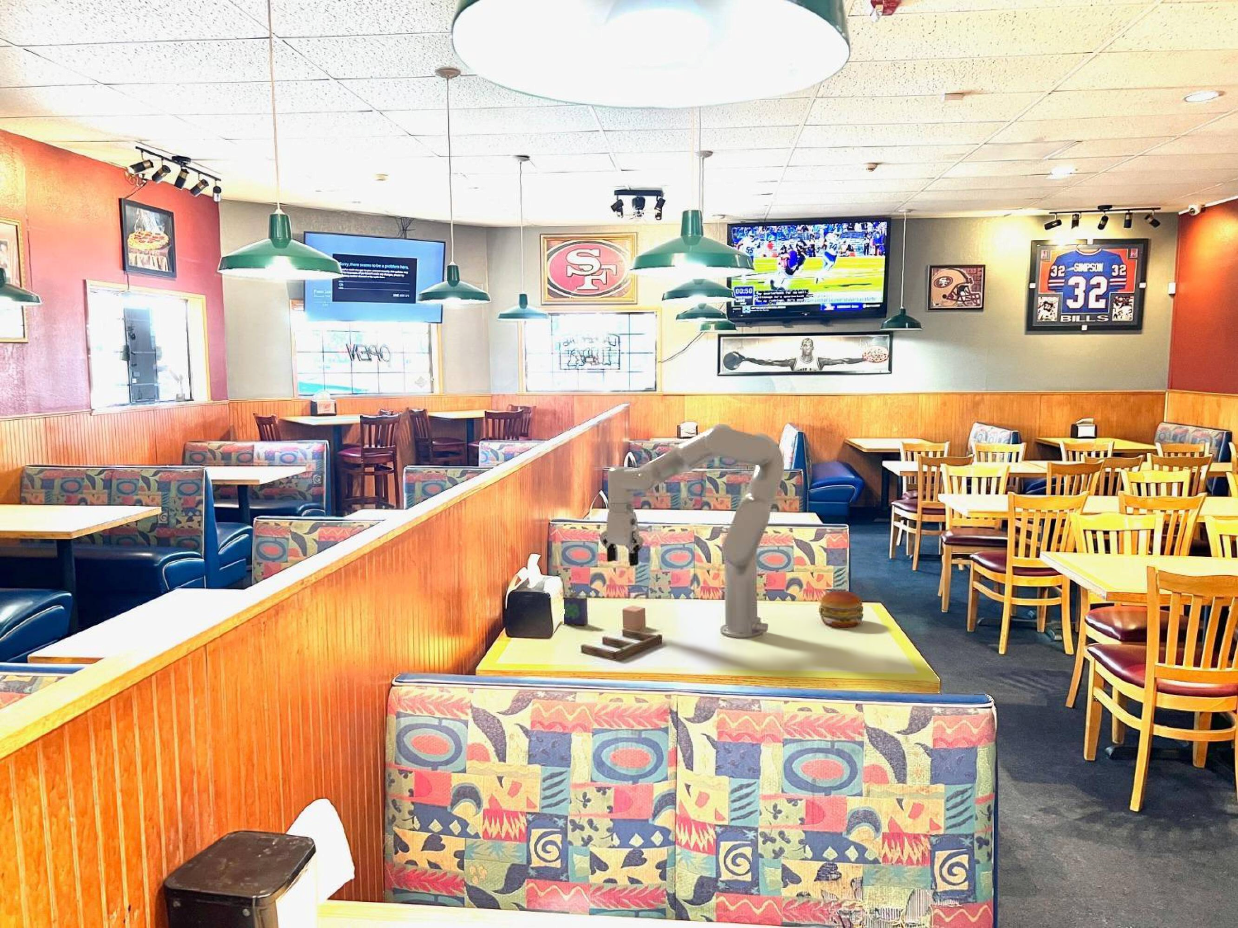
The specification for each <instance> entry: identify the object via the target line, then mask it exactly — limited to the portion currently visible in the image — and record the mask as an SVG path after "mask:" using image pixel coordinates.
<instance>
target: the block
mask: <svg viewBox="0 0 1238 928" xmlns="http://www.w3.org/2000/svg"><path fill="white" fill-rule="evenodd" d="M621 611H622V629H628V630H633V631H639V630H640V629H641V630H642V629H644V628H646V625H647V623H646V622H647V621H646V607H643V606H637V605H630V606H627V607H625V608H622V610H621Z"/></svg>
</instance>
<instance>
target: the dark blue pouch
mask: <svg viewBox="0 0 1238 928" xmlns="http://www.w3.org/2000/svg"><path fill="white" fill-rule="evenodd" d="M576 593H577V591H576V590H571V591H570V594H568V593H565V594H563V595H564V598H563V599H564V609H565V614H564V624H567V626H580V627H581V626H582V627H583V626H584V627H585V626H588V624H589V620H588V614H589V613H588V597H587V596H579V595H578V596H577V595H576ZM564 624H563V625H564Z"/></svg>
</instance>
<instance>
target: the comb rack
mask: <svg viewBox="0 0 1238 928" xmlns="http://www.w3.org/2000/svg"><path fill="white" fill-rule="evenodd" d="M621 631H622V637H624V638H628V639H634V640H638V641H639V642H632V641H628V640H623V639H619V638H613V637H609V636H602V637H601V639H602V643H601V644H602V645H605V646H610V647H613V648H619V650H617V651H614V650H610V649H606V648H603V647H596V646H593V645H588V644H581V645H580V652H581V653H584V654H587V655H591V656H595V657H600V658H604V659H608V660H612V661H614V660H615V661H616V662H621V661H623V660H627V659H628V658H630V657H633V656H635V655H638V654H640V653H642V652H645V651H648V650H649V649H652V648H654V647H657V646H659V645H662V644H663V634H651V633H647V632H641V631H639V630H636V631H635V630H630V629H626V628H622V630H621Z"/></svg>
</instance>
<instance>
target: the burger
mask: <svg viewBox="0 0 1238 928" xmlns="http://www.w3.org/2000/svg"><path fill="white" fill-rule="evenodd" d="M819 602H820V603H819V604H820V605H819V606H818V613H819V616H820V619H821V621H822V622H823V623H824V624H826V625H828V626H832V627H840V628H848V627H855V626H858V625H860V624H861V623H862V621H863V618H864V613H863V612H864V606H863V600H862V599H861V598H860V596H859V595H857V594H855V593H853V592H851V591H846V590H835V591H829V592H828V593H826V594H824V595H823V596H822V597H821V599H820V601H819Z"/></svg>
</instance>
